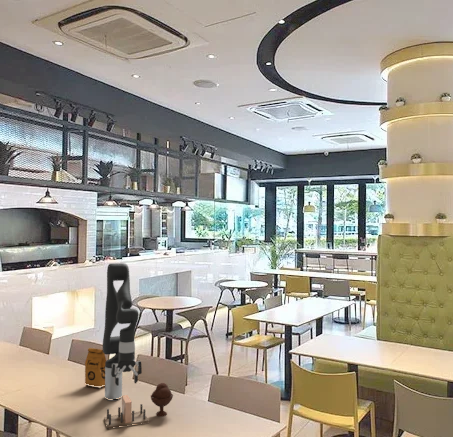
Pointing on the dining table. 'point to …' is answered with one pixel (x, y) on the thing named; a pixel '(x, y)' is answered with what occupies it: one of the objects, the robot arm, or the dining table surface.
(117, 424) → the dish rack
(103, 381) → the coffee package
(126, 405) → the peach chamfered block
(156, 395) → the ice cream bowl
